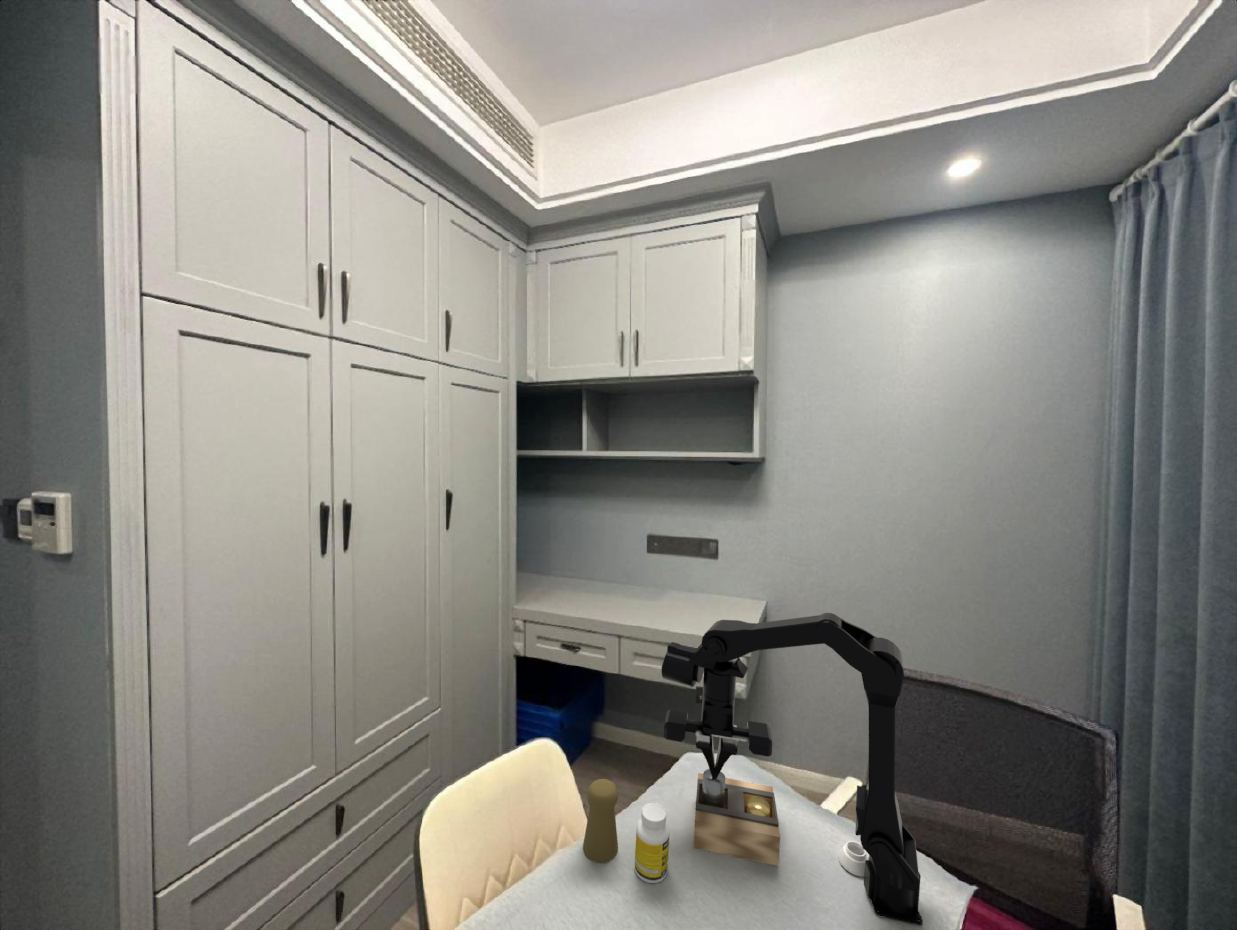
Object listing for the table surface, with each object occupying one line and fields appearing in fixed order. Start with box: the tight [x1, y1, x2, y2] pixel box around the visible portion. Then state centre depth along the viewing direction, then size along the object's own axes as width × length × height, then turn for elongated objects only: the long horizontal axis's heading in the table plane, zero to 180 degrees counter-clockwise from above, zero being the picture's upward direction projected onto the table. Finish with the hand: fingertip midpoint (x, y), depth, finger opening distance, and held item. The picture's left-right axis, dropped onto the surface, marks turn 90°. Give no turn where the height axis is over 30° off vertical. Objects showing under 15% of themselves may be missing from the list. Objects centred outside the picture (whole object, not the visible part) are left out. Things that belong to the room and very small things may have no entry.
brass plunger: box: [747, 797, 770, 817], centre depth 85 cm, size 4×4×5 cm
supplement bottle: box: [634, 802, 671, 884], centre depth 77 cm, size 5×5×10 cm
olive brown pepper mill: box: [582, 778, 619, 864], centre depth 81 cm, size 6×6×11 cm
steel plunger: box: [702, 768, 727, 808], centre depth 87 cm, size 4×4×5 cm
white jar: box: [838, 840, 869, 878], centre depth 80 cm, size 5×3×5 cm
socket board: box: [693, 772, 781, 867], centre depth 86 cm, size 14×12×5 cm
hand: (714, 776), depth 87 cm, fingers closed, pressing on steel plunger
